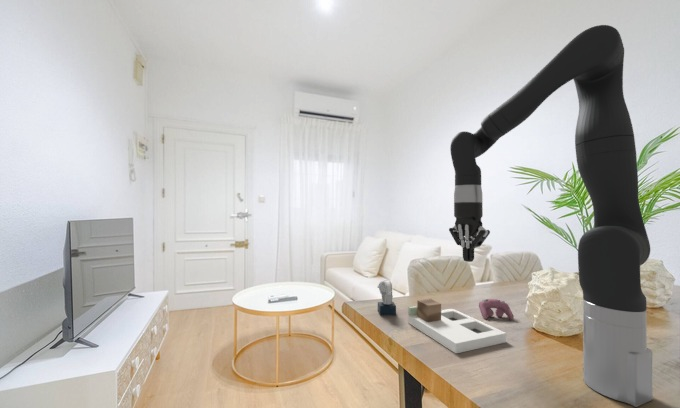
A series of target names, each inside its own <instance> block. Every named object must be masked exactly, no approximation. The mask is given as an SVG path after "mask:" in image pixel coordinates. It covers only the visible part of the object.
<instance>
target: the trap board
mask: <svg viewBox="0 0 680 408" xmlns="http://www.w3.org/2000/svg"><path fill="white" fill-rule="evenodd" d="M407 309H408V311H407V312H408V316H407V317H408V318H407V319H408V320H407V321H408V322H407V323H408V324H409V325H411V326H412V327H414V328H415V329H418V331H421V333H423V334H425V335H427V336H428V337H429V338H431V339H432V340H434V341H435V342H437V343H439V344H440V345H442V346H444V347H445V348H446V349H448V350H449V351H451V352H452V353H454V354H459V353H464V352H468V351H473V350H477V349H483V348H487V347H491V346H492V347H493V346H496V345H500V344H501V345H502V344H505V343H507V332H505V331H503V330H500V329H498V328H496V327H494V326H492V325H489V324H487V323H486V322H482V321H480V320H479V319H476V318H475V317H472V316H469V315H468V314H465V313H463V312H461V311H458V310H457V309H454V308H448V309H441V320H439V321H433V322H426V321H425V320H423V319H421V318H419V317H418V316H417V305H414V306H408V308H407Z"/></svg>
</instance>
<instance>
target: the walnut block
mask: <svg viewBox="0 0 680 408" xmlns="http://www.w3.org/2000/svg"><path fill="white" fill-rule="evenodd" d="M416 306H417V316H418V317H419V318H421V319H423V320H425V321H426V322H433V321H439V320H441V310H442V303H440V302H439V301H436V300H434V299H432V298H428V299H427V298H426V299H418V300H417V305H416Z"/></svg>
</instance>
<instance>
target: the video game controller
mask: <svg viewBox="0 0 680 408" xmlns="http://www.w3.org/2000/svg"><path fill="white" fill-rule="evenodd" d="M478 308H479V312H480V314H481V316H482V318H483V319H484V320H487V319H488V317H493V316H494V314H495V316H496V317H498V318H501V317H503V316H504V314H505V315H506V317H507V318H508V319H509V320H510V321H514V314H513V312H512V309H511V308H510V306H509V305H508V304H507V303H506V302H505V301H504V300H500V299H497V298H488V299H482V300H480V301H479V303H478ZM493 309H495V313H494V311H493Z"/></svg>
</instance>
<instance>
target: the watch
mask: <svg viewBox="0 0 680 408" xmlns="http://www.w3.org/2000/svg"><path fill="white" fill-rule="evenodd" d="M377 288H378V289H379V292H380V294H381V299H382V300H381V301H377V312H378V314H379V316H397V305H396V304H395V303H394V301H393V296H394V295H393V283H392V281H391V280H382V281H380V282H379V283H378V284H377Z"/></svg>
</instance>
